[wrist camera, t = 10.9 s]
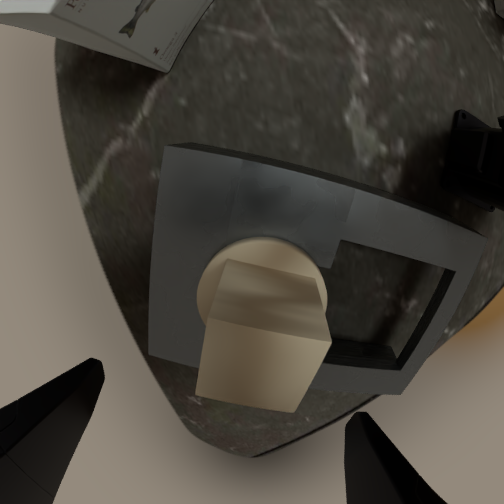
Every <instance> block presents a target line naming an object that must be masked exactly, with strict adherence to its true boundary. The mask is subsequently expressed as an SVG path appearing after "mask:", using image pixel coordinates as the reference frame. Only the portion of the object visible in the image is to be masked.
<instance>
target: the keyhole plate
mask: <svg viewBox="0 0 504 504" xmlns="http://www.w3.org/2000/svg"><path fill="white" fill-rule="evenodd" d="M251 237H272V238H278V239H281V240H285V241H287V242H290V243H292V244H294V245H296V246H297V247H299V248H301V249H302V250H303V251H305V252H306V253H307V254H308V255H309V256H310V257H311V258H312V259H313V260H314V262H315V263H316V265H317V266H320V267H325V268H329V269H330V268H331V266H332V263H333V260H334V257H335V254H336V251H337V248H338V245H339V243H340V240H341V239H342V240H346V241H350V242H354V243H357V244H361V245H365V246H369V247H372V248H376V249H380V250H384V251H387V252H391V253H395V254H398V255H402V256H405V257H409V258H412V259H416V260H419V261H423V262H426V263H430V264H433V265H437V266H440V267H443V268H445V271H444V273H443V275H442V277H441V279H440V282H439V284H438V286H437V288H436V290H435V292H434V294H433V296H432V298H431V300H430V302H429V304H428V306H427V308H426V310H425V312H424V314H423V315H422V317H421V319H420V321H419V323H418V325H417V326H416V328H415V330H414V332H413V333H412V335H411V337H410V339H409V340H408V342H407V344H406V345H405V347H404V349H403V350H402V352H401V353H400V355H399V357H398V358H396V356H395V354H394V352H393V350H392V347H391V346H384V345H376V344H368V343H361V342H354V341H347V340H340V339H334V338H331V340H332V343H331V345H330V347H329V349H328V351H327V353H326V355H325V357H324V359H323V361H322V363H321V365H320V367H319V369H318V371H317V373H316V375H315V376H314V378H313V380H312V382H311V384H310V386H309V387H308V389H317V390H326V391H337V392H349V393H364V394H389V395H390V394H392V395H401V393H402V392H403V391H404V390H405V388H406V387H407V386H408V384H409V383H410V381H411V380H412V379H413V377H414V376H415V374H416V373H417V372H418V370H419V369H420V367H421V366H422V365H423V363H424V362H425V360H426V359H427V357H428V356H429V354H430V353H431V351H432V350H433V348H434V346H435V345H436V343H437V342H438V340H439V338H440V337H441V335H442V333H443V332H444V330H445V328H446V327H447V325H448V323H449V321H450V320H451V318H452V316H453V314H454V312H455V311H456V309H457V307H458V305H459V303H460V301H461V299H462V297H463V295H464V293H465V291H466V289H467V287H468V285H469V283H470V281H471V279H472V276H473V274H474V272H475V270H476V268H477V265H478V263H479V261H480V258H481V256H482V253H483V251H484V248H485V246H486V243H487V241H488V238H486V237H485V236H483V235H482V234H480V233H478V232H477V231H475V230H474V229H472V228H470V227H469V226H467V225H465V224H464V223H462V222H460V221H458V220H457V219H455V218H453V217H452V216H449V215H447V214H444V213H442V212H440V211H437V210H435V209H432V208H430V207H427V206H424V205H422V204H419V203H417V202H414V201H411V200H409V199H406V198H403V197H400V196H398V195H395V194H392V193H389V192H386V191H383V190H380V189H377V188H374V187H371V186H368V185H365V184H362V183H359V182H356V181H353V180H349V179H346V178H343V177H339V176H336V175H333V174H329V173H326V172H322V171H319V170H315V169H311V168H308V167H304V166H300V165H296V164H292V163H288V162H284V161H280V160H276V159H272V158H267V157H263V156H259V155H254V154H250V153H245V152H240V151H235V150H230V149H225V148H220V147H214V146H209V145H203V144H197V143H181V144H172V145H165V147H164V153H163V159H162V166H161V172H160V179H159V187H158V194H157V202H156V211H155V220H154V230H153V241H152V254H151V269H150V288H149V321H148V355H152V356H155V357H158V358H162V359H165V360H169V361H172V362H176V363H180V364H183V365H187V366H191V367H195V368H199V367H200V360H201V354H202V348H203V342H204V336H205V330H206V325H205V324H204V322H203V320H202V319H201V316H200V314H199V311H198V306H197V289H198V285H199V282H200V279H201V277H202V275H203V272H204V270H205V268H206V267H207V265H208V263H209V262H210V260H211V259H212V258H213V257H214V256H215V255H216V254H217V253H218V252H219V251H220V250H221V249H223V248H224V247H226V246H227V245H229V244H231V243H233V242H236V241H239V240H242V239H246V238H251Z"/></svg>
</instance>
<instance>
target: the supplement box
mask: <svg viewBox="0 0 504 504" xmlns="http://www.w3.org/2000/svg"><path fill="white" fill-rule="evenodd" d="M212 1H213V0H0V24H5V25H10V26H15V27H19V28H23V29H27V30H31V31H35V32H38V33H42V34H46V35H50V36H53V37H56V38H59V39H62V40H65V41H69V42H72V43H74V44H77V45H80V46H83V47H86V48H89V49H91V50H94V51H98V52H102V53H105V54H108V55H112V56H115V57H118V58H121V59H125V60H128V61H131V62H135V63H138V64H141V65H144V66H147V67H150V68H153V69H156V70H159V71H162V72H165V73H168V72H169V71H170V69H171V67H172V65H173V63H174V61H175V59H176V57H177V55H178V53H179V51H180V49H181V48H182V46H183V44H184V42H185V41H186V39H187V37H188V36H189V34H190V33H191V31H192V29H193V28H194V26H195V25H196V23H197V22H198V21H199V19H200V18H201V16H202V15H203V13H204V12H205V11H206V9H207V8H208V6H209V5H210V4H211V3H212Z"/></svg>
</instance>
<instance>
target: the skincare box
mask: <svg viewBox="0 0 504 504" xmlns="http://www.w3.org/2000/svg"><path fill="white" fill-rule="evenodd" d="M494 2H495V9H496V13H497V14H498V15H500V16H501V17H502V18H503V19H504V0H494Z"/></svg>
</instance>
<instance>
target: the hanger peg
mask: <svg viewBox="0 0 504 504" xmlns="http://www.w3.org/2000/svg"><path fill="white" fill-rule="evenodd" d="M197 306H198V311H199V314H200V316H201V319H202V320H203V322H204V324H205V325H206V330H205V336H204V342H203V348H202V354H201V360H200V367H199V373H198V380H197V386H196V393H195V395H198V396H202V397H206V398H210V399H215V400H219V401H224V402H229V403H234V404H239V405H245V406H250V407H256V408H262V409H269V410H276V411H283V412H291V413H294V412H295V410H296V408H297V407H298V405H299V403H300V401H301V400H302V398H303V396H304V394H305V393H306V391H307V389H308V387H309V386H310V384H311V382H312V380H313V378H314V376H315V375H316V373H317V371H318V369H319V367H320V365H321V363H322V361H323V359H324V357H325V355H326V353H327V351H328V349H329V347H330V345H331V343H332V340H331V336H330V332H329V328H328V324H327V320H326V316H325V312H326V308H327V291H326V287H325V284H324V280H323V277H322V274H321V272H320V270H319V268H318V266H317V265H316V263H315V262H314V260H313V259H312V258H311V257H310V256H309V255H308V254H307V253H306V252H305V251H303V250H302V249H301V248H299V247H297V246H296V245H294V244H292V243H290V242H287V241H285V240H281V239H278V238H272V237H251V238H246V239H242V240H239V241H236V242H233V243H231V244H229V245H227V246H226V247H224V248H223V249H221V250H220V251H219V252H218V253H217V254H216V255H215V256H214V257H213V258H212V259H211V260H210V262H209V263H208V265H207V267H206V268H205V270H204V272H203V275H202V277H201V279H200V282H199V285H198V289H197Z"/></svg>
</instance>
